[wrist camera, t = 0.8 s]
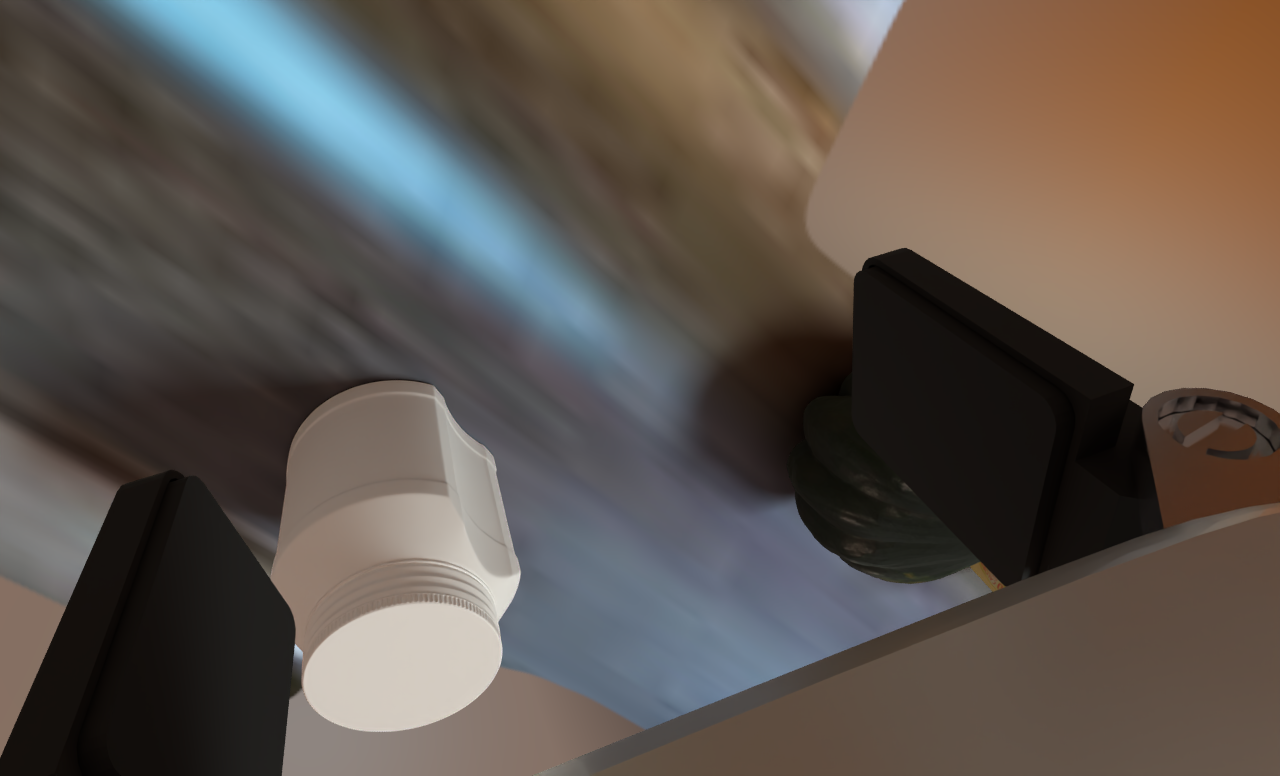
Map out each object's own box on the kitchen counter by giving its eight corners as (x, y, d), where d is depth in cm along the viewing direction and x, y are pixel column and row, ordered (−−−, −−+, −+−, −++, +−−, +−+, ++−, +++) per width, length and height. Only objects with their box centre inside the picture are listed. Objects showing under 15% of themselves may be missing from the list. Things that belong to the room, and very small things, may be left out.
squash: (753, 578, 50) (983, 669, 44) (770, 395, 43) (1052, 472, 36) (820, 470, 61) (1014, 530, 54) (842, 308, 53) (1072, 354, 47)
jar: (514, 479, 46) (566, 674, 34) (386, 555, 46) (393, 776, 34) (406, 351, 39) (423, 538, 27) (255, 440, 40) (207, 666, 28)
